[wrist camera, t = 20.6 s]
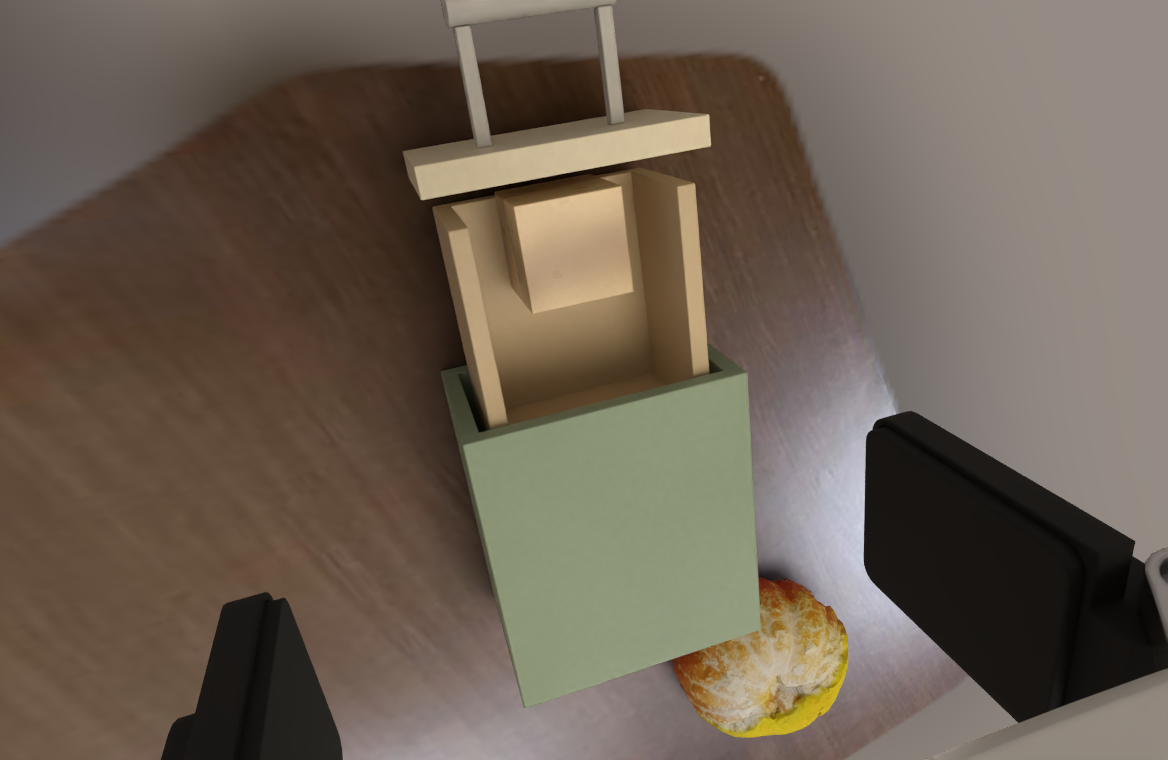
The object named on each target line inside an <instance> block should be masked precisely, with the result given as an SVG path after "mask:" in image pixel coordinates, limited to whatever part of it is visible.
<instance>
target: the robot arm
mask: <svg viewBox="0 0 1168 760" xmlns="http://www.w3.org/2000/svg"><path fill="white" fill-rule="evenodd" d="M1134 545H1135V541H1134V540H1132V539H1130V538H1129V537H1127V536H1125V535H1124V534H1122V533H1120V532H1119V531H1117V530H1115V529H1113V528H1112V527H1110V526H1108V525H1107V524H1105V523H1103V522H1102V521H1100V520H1098V519H1096V518H1095V517H1093V516H1091V515H1090V514H1088V513H1086V512H1084V511H1083V510H1081V509H1079V508H1078V507H1076V506H1074V505H1073V504H1071V503H1069V502H1067V501H1066V500H1064V499H1062V498H1061V497H1059V496H1057V495H1055V494H1054V493H1052V492H1050V491H1049V490H1047V489H1045V488H1043V487H1042V486H1040V485H1038V484H1037V483H1035V482H1033V481H1032V480H1030V479H1028V478H1027V477H1025V476H1023V475H1021V474H1020V473H1018V472H1016V471H1015V470H1013V469H1011V468H1009V467H1008V466H1006V465H1004V464H1003V463H1001V462H999V461H997V460H996V459H994V458H992V457H991V456H989V455H987V454H986V453H984V452H982V451H980V450H979V449H977V448H975V447H974V446H972V445H970V444H969V443H967V442H965V441H963V440H962V439H960V438H958V437H957V436H955V435H953V434H951V433H950V432H948V431H946V430H945V429H943V428H941V427H940V426H938V425H936V424H934V423H933V422H931V421H929V420H927V419H926V418H924V417H923V416H921V415H919V414H917V413H915V412H912V411H907V412H903V413H900V414H896V415H893V416H889V417H886V418H882V419H879V420H877V421H876V422H875V424H874V426H873V430H872V431H870V432H869V433H868V434H867V438H866V470H865V522H864V566H865V569H866V572H867V574H868V576H869V578H870V579H871V581H872V582H873V583H874V584H875V585H876V586H877V587H878V588H879V589H880V590H881V591H882V592H883V593H884V594H885V595H886V596H887V597H888V598H889V599H890V600H891V601H892V602H894V603H895V604H896V605H897V606H898V607H899V608H900V609H901V610H902V611H903V612H904V613H905V614H906V615H907V616H908V617H909V618H910V619H911V620H912V621H913V622H914V623H915V624H916V625H917V626H918V627H919V628H921V629H922V630H923V631H924V632H925V633H926V634H927V635H928V636H929V637H930V638H931V639H932V640H933V641H934V642H935V643H936V644H937V645H938V646H939V647H940V648H941V649H942V650H943V651H944V652H945V653H946V654H947V655H949V656H950V657H951V658H952V659H953V660H954V661H955V662H956V663H957V664H958V665H959V666H960V667H961V668H962V669H963V670H964V671H965V672H966V673H967V674H968V675H969V676H970V677H971V678H972V679H973V680H975V682H977V683H978V684H979V685H980V686H981V687H982V688H983V689H984V690H985V691H986V692H987V693H988V694H989V695H990V696H991V697H992V698H993V699H994V700H995V701H996V702H997V703H998V704H999V705H1000V706H1001V707H1002V708H1004V709H1005V710H1006V711H1007V712H1008V713H1009V714H1010V715H1011V716H1012V717H1013V718H1014V719H1015V720H1016V721H1017V722H1018V724H1015V725H1013V726H1010V727H1007V728H1005V729H1002V730H1000V731H997V732H995V733H992V734H989V735H987V736H984V737H982V738H979V739H976V740H974V741H971V742H969V743H966V744H963V745H961V746H958V747H956V748H953V749H950V750H948V751H945V752H943V753H940V754H938V755H935V756H932V757H930V758H927V759H925V760H1168V548H1163V549H1161V550H1158V551H1156V552H1154V553H1152V554H1151V555H1150V556H1149V558H1148V559H1147V560H1146V562H1145V563H1143V562H1141V561H1140V560H1138V559H1136V558H1134V557H1133V556H1132V555H1133V549H1134ZM161 760H343V757H342V747H341V741H340V737H339V733H338V730H337V728H336V725H335V722H334V720H333V717H332V715H331V712H330V709H329V707H328V704H327V702H326V699H325V696H324V694H323V691H322V689H321V686H320V683H319V681H318V678H317V676H316V673H315V670H314V668H313V665H312V663H311V660H310V657H309V655H308V652H307V650H306V647H305V644H304V642H303V639H302V636H301V634H300V631H299V629H298V626H297V623H296V621H295V618H294V616H293V613H292V610H291V608H290V605H289V603H288V601H287V600H286V599H285V598H281V599H278V600H273V598H272V597H271V595H270V594H269V593H267V592H264V593H261V594H257V595H254V596H250V597H247V598H243V599H240V600H236V601H232V602H229V603H226V604H225V605H223V608H222V610H221V614H220V618H219V622H218V626H217V630H216V634H215V638H214V641H213V645H212V649H211V653H210V657H209V661H208V665H207V669H206V673H205V677H204V681H203V684H202V688H201V692H200V696H199V700H198V704H197V708H196V712H195V713H194V714H191V715H188V716H185V717H181V718H178V719H177V720H176V721H175V722H174V723H173V724H172V727H171V729H170V732H169V734H168V737H167V741H166V744H165V748H164V751H163V754H162V758H161Z"/></svg>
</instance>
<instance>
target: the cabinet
mask: <svg viewBox="0 0 1168 760" xmlns="http://www.w3.org/2000/svg"><path fill="white" fill-rule="evenodd" d="M707 348H708V361H709V374H708V375H704V376H700V377H696V378H692V379H689V380H685V381H681V382H677V383H673V384H669V385H665V386H661V387H657V388H653V389H649V390H645V391H641V392H637V393H633V394H630V395H626V396H622V397H618V398H614V399H610V400H606V401H602V402H598V403H594V404H590V405H586V406H582V407H578V408H574V409H571V410H567V411H563V412H559V413H555V414H551V415H547V416H543V417H539V418H535V419H531V420H527V421H523V422H519V423H516V424H512V425H508V426H504V427H500V428H496V429H492V430H488V431H484V432H483V430H482V427H481V424H480V421H479V416H478V412H477V407H476V403H475V398H474V394H473V389H472V385H471V380H470V376H469V371H468V367H467V365H465V366H461V367H456V368H452V369H448V370H444V371H441V376H442V380H443V384H444V389H445V393H446V397H447V401H448V405H449V410H450V414H451V418H452V422H453V426H454V431H455V435H456V439H457V443H458V447H459V451H460V456H461V460H462V464H463V468H464V472H465V477H466V481H467V485H468V489H469V493H470V498H471V502H472V506H473V510H474V514H475V518H476V523H477V527H478V531H479V535H480V539H481V544H482V548H483V552H484V556H485V560H486V565H487V569H488V573H489V577H490V581H491V585H492V590H493V594H494V598H495V602H496V605H497V609H498V613H499V617H500V620H501V624H502V628H503V631H504V635H505V639H506V643H507V646H508V650H509V654H510V657H511V661H512V665H513V669H514V672H515V676H516V680H517V683H518V687H519V691H520V695H521V698H522V702H523V706H524V708H528V707H531V706H534V705H537V704H540V703H543V702H546V701H549V700H552V699H555V698H558V697H561V696H564V695H567V694H570V693H573V692H576V691H579V690H582V689H585V688H588V687H591V686H594V685H597V684H600V683H603V682H606V681H609V680H612V679H615V678H618V677H621V676H624V675H627V674H630V673H633V672H636V671H639V670H642V669H645V668H648V667H651V666H654V665H657V664H660V663H663V662H666V661H669V660H672V659H675V658H678V657H681V656H684V655H687V654H690V653H693V652H695V651H698V650H701V649H704V648H707V647H710V646H713V645H716V644H719V643H722V642H725V641H728V640H731V639H734V638H737V637H740V636H743V635H746V634H749V633H752V632H755V631H758V630H761V619H760V600H759V581H758V563H757V544H756V525H755V506H754V488H753V469H752V450H751V431H750V413H749V394H748V375H747V372H746V371H745V370H743V369H742V368H741V367H739V366H738V365H737V364H735V363H734V362H733V361H731V360H730V359H728V358H727V357H726V356H724V355H723V354H722V353H720V352H719V351H718V350H716V349H715V348H714V347H712V346H711V345H709V344H708V343H707Z"/></svg>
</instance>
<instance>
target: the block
mask: <svg viewBox="0 0 1168 760" xmlns="http://www.w3.org/2000/svg"><path fill="white" fill-rule="evenodd" d="M494 194H495V199H496V205H497V210H498V215H499V221H500V226H501V231H502V237H503V242H504V248H505V253H506V258H507V264H508V269H509V275H510V280H511V285H512V288H513V290H514V291H515V292H516V294H517V295H518V296H519V297H520V299H521V300H522V301H523V303H524V304H525V305H526V307H527V308H528V309H529V310H530V312H531V313H532V314H538V313H542V312H546V311H551V310H555V309H560V308H564V307H569V306H573V305H578V304H582V303H586V302H591V301H595V300H600V299H604V298H609V297H613V296H618V295H622V294H627V293H631V292H634V289H633V280H632V272H631V263H630V255H629V246H628V237H627V229H626V220H625V211H624V203H623V194H622V186H620V185H618V184H615V183H612V182H610V181H607V180H605V179H602V178H599V177H597V176H594V175H592V174H586V175H580V176H575V177H570V178H564V179H559V180H554V181H548V182H543V183H538V184H532V185H527V186H522V187H516V188H511V189H506V190H500V191H495V192H494Z"/></svg>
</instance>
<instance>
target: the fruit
mask: <svg viewBox="0 0 1168 760" xmlns="http://www.w3.org/2000/svg"><path fill="white" fill-rule="evenodd" d="M758 581H759V600H760V619H761V630H758V631H755V632H752V633H749V634H746V635H743V636H740V637H737V638H734V639H731V640H728V641H725V642H722V643H719V644H716V645H713V646H710V647H707V648H704V649H701V650H698V651H695V652H693V653H690V654H687V655H684V656H681V657H678V658H675V659H672V661H673V667H674V672H675V674H676V676H677V678H678V680H679V681H680V685H681V687H682V689H683V691H684V692H685V694H686V697H687V698H688V700H689V702H690V703H691V704H692V705H693V707H694V708H695V709H696V712H697V713H698V714H699V716H700V717H701V718H703V719H704V720H705V721H707V722H708V723H709V724H711V725H712V726H714V727H716V728H717V729H719V730H721V731H723V732H724V733H726V734H729V735H732V736H736V737H745V738H750V737H759V736H766V735H776V734H780V735H784V734H787V733H790V732H793V733H794V732H795V731H796V730H800V729H803V728H804V727H805V726H808V724H810V723H811V722H813V721H814V719H816V718H817V717H818V716H819V715H821V716H822V715H823V714H824V713H825V712H827V711H828V710H829V708H830V707H831V705H832V704H833V703H834V701H835V699H836V697H837V695H838V693H839V690H840V687H841V686H842V684H843V681H844V678H845V675H846V672H847V667H848V640H847V634H846V631H845V628H844V625H843V623H842V622H841V621H840V620H838V619H837V617H836V614H835V612H834V611H833V609H832V608H831V606H827V607H825V606H824V605H823V604H822V603H820V602H817V600H816V599H815V598H814V595H812V594H811V591H809V590H807V589H806V588H805V587H804V586H802V585H799V584H797V583H795V582H793V581H790V580H789V578H786V579H785V580H784V581H782V580H779V579H778V580H775V581H773V582H772V581H768V580H766V579H765V578H759V577H758Z"/></svg>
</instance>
